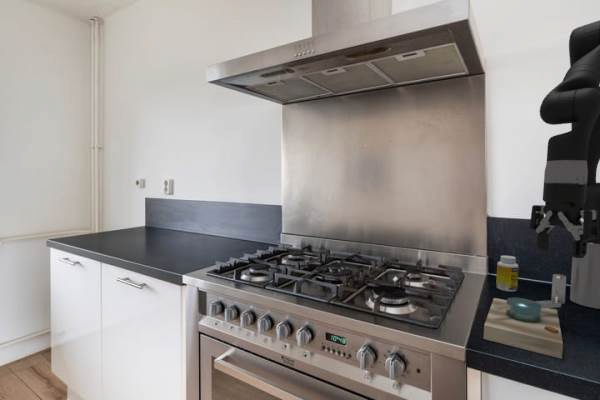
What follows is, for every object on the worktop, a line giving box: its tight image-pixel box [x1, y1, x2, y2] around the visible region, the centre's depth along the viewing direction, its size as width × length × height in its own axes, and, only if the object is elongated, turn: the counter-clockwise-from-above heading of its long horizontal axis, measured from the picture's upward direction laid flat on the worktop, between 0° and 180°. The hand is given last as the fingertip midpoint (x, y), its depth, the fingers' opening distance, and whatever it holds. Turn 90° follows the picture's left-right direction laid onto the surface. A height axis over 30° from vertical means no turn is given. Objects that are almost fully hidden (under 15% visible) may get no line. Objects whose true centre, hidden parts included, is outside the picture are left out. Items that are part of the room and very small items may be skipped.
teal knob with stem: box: [494, 273, 567, 322], centre depth 74 cm, size 17×6×9 cm, turn 99°
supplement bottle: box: [495, 255, 519, 293], centre depth 101 cm, size 6×6×10 cm
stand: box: [483, 297, 564, 359], centre depth 74 cm, size 20×13×4 cm, turn 144°
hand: (559, 253), depth 74 cm, fingers open, 8 cm apart
